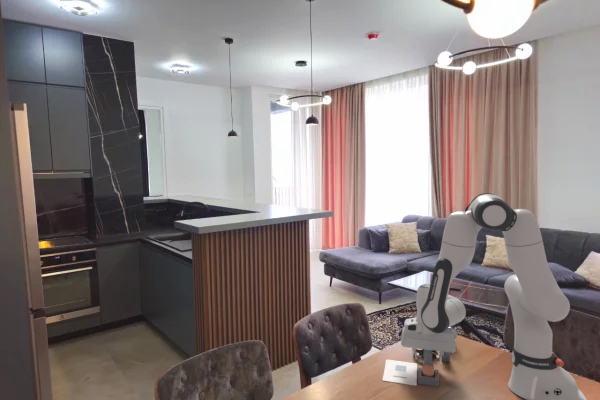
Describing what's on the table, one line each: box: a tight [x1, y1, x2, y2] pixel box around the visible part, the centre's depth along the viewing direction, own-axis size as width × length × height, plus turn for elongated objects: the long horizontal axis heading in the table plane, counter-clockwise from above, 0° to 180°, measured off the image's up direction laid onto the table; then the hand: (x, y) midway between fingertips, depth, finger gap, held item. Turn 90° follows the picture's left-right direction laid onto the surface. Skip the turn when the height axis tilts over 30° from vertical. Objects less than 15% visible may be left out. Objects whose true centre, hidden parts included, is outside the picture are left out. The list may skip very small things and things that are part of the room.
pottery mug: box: [412, 348, 439, 357], centre depth 158 cm, size 12×10×8 cm
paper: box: [382, 359, 418, 387], centre depth 144 cm, size 12×16×1 cm
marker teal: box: [423, 349, 433, 366], centre depth 147 cm, size 3×3×9 cm
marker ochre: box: [441, 352, 451, 363], centre depth 152 cm, size 3×3×9 cm
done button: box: [422, 364, 435, 378], centre depth 138 cm, size 4×4×4 cm
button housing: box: [417, 367, 440, 388], centre depth 138 cm, size 7×7×2 cm
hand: (427, 359), depth 147 cm, fingers open, 6 cm apart
